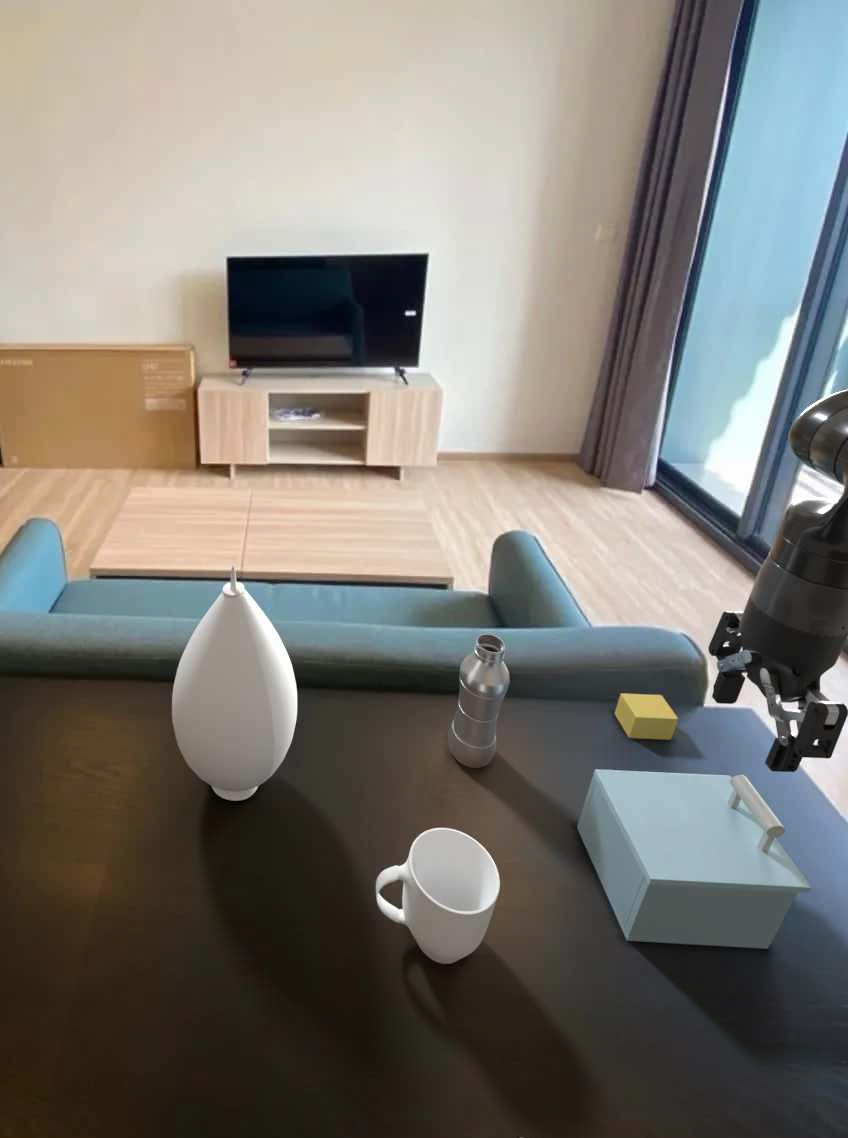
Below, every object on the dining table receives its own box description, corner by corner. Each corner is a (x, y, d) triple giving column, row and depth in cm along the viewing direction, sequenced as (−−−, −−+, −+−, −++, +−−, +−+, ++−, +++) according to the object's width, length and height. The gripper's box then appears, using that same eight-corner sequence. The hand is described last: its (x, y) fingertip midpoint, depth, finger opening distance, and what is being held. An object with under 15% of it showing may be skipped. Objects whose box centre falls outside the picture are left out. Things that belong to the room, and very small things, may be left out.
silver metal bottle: (446, 769, 89) (466, 656, 81) (444, 730, 95) (463, 622, 87) (495, 779, 88) (520, 666, 80) (490, 739, 94) (513, 630, 86)
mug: (472, 901, 73) (488, 830, 69) (490, 992, 65) (510, 919, 61) (368, 889, 75) (377, 818, 70) (374, 978, 66) (384, 905, 62)
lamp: (287, 846, 79) (297, 617, 65) (162, 826, 81) (146, 601, 68) (298, 740, 93) (308, 534, 80) (192, 726, 96) (184, 523, 82)
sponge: (653, 717, 98) (661, 694, 96) (670, 742, 94) (678, 719, 92) (613, 715, 98) (620, 693, 96) (628, 740, 94) (635, 717, 92)
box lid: (728, 780, 77) (741, 749, 75) (808, 892, 65) (826, 860, 63) (593, 773, 77) (602, 743, 75) (649, 884, 66) (661, 851, 64)
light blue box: (696, 835, 81) (719, 780, 77) (766, 951, 69) (798, 892, 65) (576, 829, 81) (593, 774, 77) (625, 943, 70) (648, 884, 66)
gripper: (909, 662, 54) (840, 796, 60) (787, 563, 67) (741, 682, 73) (816, 659, 54) (757, 793, 61) (713, 561, 67) (673, 680, 74)
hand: (748, 732), depth 67 cm, fingers open, 8 cm apart
